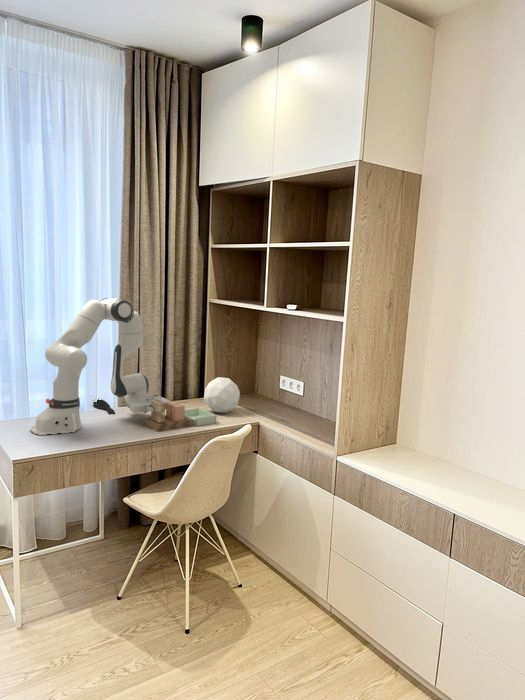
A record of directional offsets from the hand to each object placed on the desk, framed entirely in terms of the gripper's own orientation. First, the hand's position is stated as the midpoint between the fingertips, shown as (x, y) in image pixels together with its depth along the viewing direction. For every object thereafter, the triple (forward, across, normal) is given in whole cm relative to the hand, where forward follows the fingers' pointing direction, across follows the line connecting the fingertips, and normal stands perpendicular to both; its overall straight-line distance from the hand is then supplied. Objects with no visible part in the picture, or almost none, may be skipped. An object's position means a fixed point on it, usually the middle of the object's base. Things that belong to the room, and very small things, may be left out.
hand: (158, 409), depth 258 cm
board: (0, +6, +9) cm, 10 cm away
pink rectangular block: (-2, +9, +6) cm, 11 cm away
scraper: (0, 0, +5) cm, 5 cm away
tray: (0, +22, +9) cm, 24 cm away
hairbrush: (-43, -8, +9) cm, 44 cm away
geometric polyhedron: (-8, +43, +9) cm, 45 cm away
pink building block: (+3, +9, +6) cm, 11 cm away
